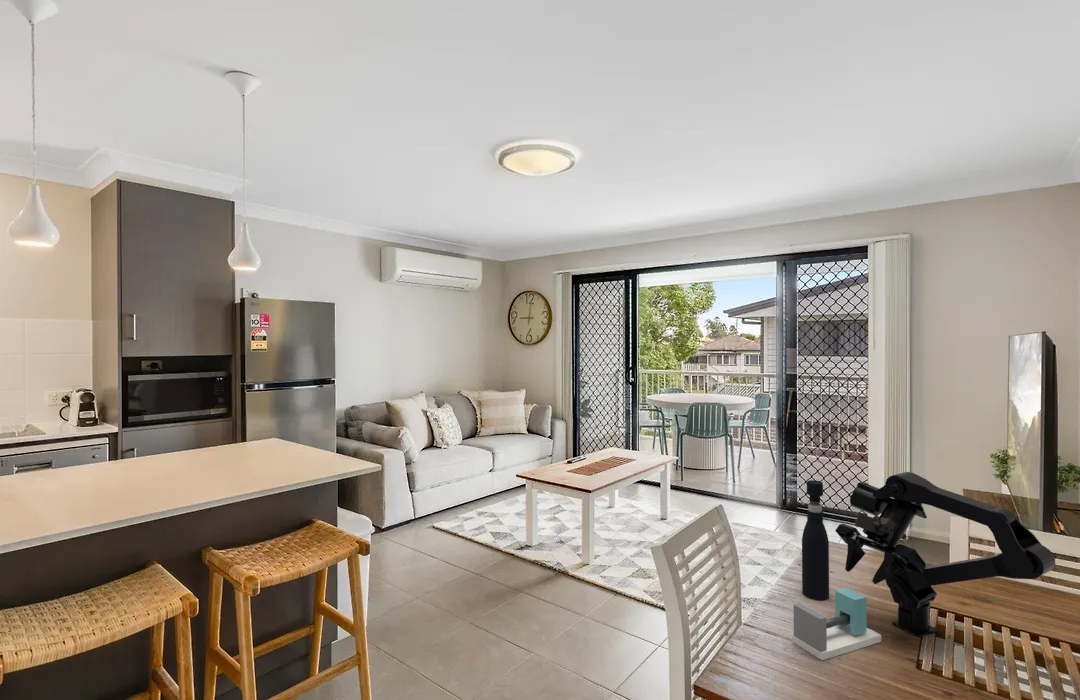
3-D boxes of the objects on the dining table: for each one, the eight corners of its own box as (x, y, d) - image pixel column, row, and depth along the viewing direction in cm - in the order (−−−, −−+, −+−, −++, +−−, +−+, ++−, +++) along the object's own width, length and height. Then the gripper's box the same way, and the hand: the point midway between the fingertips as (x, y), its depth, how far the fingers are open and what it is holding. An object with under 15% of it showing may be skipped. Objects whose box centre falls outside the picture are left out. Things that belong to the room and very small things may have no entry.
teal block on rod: (846, 621, 126) (846, 587, 126) (866, 632, 121) (866, 597, 121) (835, 624, 124) (835, 590, 124) (855, 635, 120) (854, 600, 120)
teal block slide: (848, 624, 128) (848, 588, 128) (881, 641, 121) (881, 603, 121) (791, 641, 121) (791, 603, 121) (822, 660, 114) (821, 620, 114)
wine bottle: (834, 600, 140) (833, 485, 140) (809, 600, 140) (808, 485, 140) (821, 589, 146) (820, 478, 146) (797, 589, 147) (796, 479, 146)
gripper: (841, 490, 134) (807, 541, 131) (917, 513, 117) (882, 572, 113) (862, 518, 138) (831, 568, 134) (940, 544, 120) (906, 602, 116)
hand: (859, 576), depth 124 cm, fingers open, 6 cm apart
